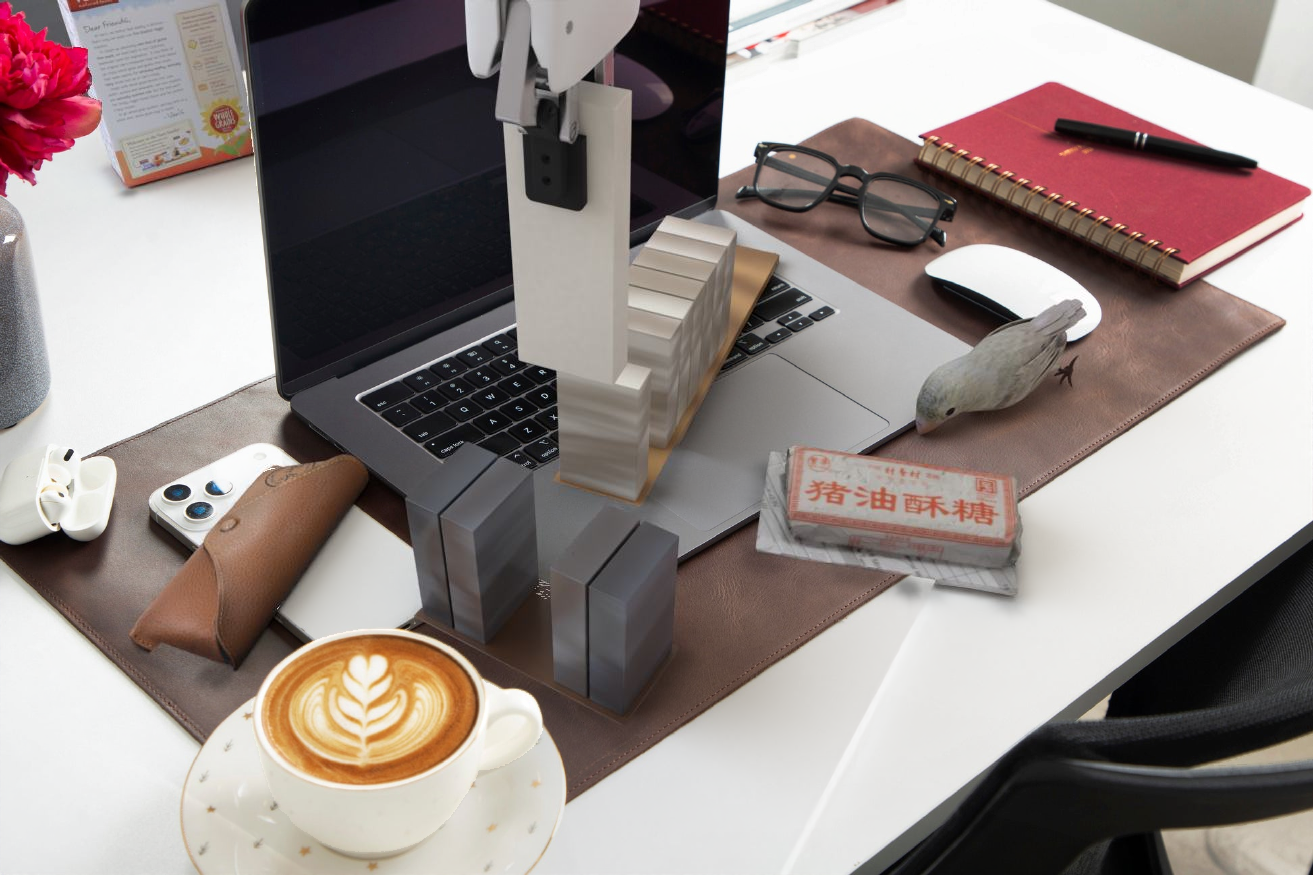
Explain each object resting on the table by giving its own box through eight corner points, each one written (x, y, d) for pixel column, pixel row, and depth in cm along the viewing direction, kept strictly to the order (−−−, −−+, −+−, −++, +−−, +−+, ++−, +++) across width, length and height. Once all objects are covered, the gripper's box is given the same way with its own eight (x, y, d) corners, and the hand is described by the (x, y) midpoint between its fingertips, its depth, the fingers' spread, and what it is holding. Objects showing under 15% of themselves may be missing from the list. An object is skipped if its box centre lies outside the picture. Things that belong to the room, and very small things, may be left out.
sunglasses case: (267, 458, 85) (295, 409, 81) (348, 510, 86) (380, 465, 82) (119, 644, 72) (142, 598, 68) (217, 702, 73) (246, 660, 69)
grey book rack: (680, 655, 74) (690, 532, 66) (624, 735, 69) (627, 613, 61) (479, 557, 79) (466, 433, 72) (414, 625, 75) (393, 501, 67)
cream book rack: (640, 516, 83) (644, 394, 75) (552, 490, 84) (547, 368, 77) (778, 263, 108) (792, 152, 100) (708, 247, 110) (717, 136, 102)
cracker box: (241, 131, 124) (195, -70, 110) (262, 154, 120) (217, -51, 106) (108, 165, 117) (41, -44, 103) (126, 190, 114) (59, -23, 100)
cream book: (613, 386, 65) (615, 109, 54) (518, 360, 67) (500, 85, 55) (627, 364, 67) (632, 89, 55) (534, 339, 68) (520, 67, 57)
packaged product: (1023, 452, 82) (1032, 554, 75) (1007, 500, 85) (1014, 602, 78) (773, 417, 84) (758, 513, 77) (766, 465, 87) (752, 561, 80)
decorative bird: (892, 417, 92) (909, 342, 87) (1033, 355, 99) (1056, 283, 94) (938, 456, 89) (959, 380, 84) (1081, 390, 95) (1108, 316, 90)
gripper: (557, -258, 53) (565, 110, 66) (375, -172, 42) (427, 252, 54) (709, -239, 51) (688, 136, 64) (562, -144, 40) (572, 288, 53)
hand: (568, 187), depth 59 cm, fingers closed on cream book, 2 cm apart
